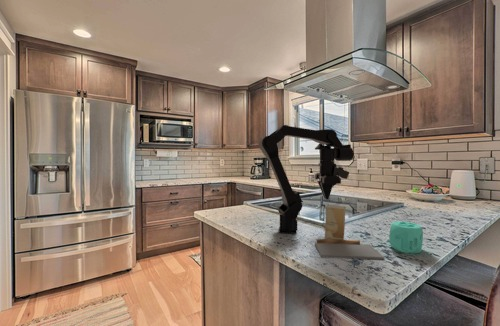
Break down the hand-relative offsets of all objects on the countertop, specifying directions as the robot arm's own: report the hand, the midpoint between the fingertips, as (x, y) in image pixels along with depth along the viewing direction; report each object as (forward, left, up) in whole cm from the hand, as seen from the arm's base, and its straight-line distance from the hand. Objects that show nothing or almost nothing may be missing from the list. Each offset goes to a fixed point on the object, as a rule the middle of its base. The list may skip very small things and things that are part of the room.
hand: (326, 198), depth 98 cm
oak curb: (0, -17, -12) cm, 21 cm away
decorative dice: (+21, -19, -13) cm, 31 cm away
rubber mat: (+1, -23, -12) cm, 26 cm away
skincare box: (0, -13, -13) cm, 18 cm away
